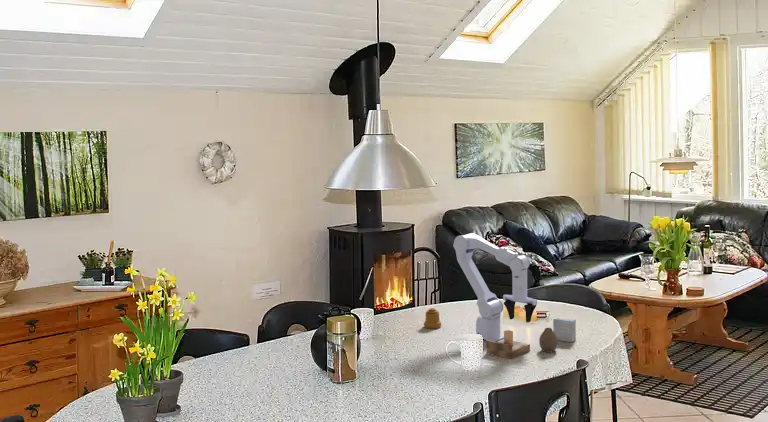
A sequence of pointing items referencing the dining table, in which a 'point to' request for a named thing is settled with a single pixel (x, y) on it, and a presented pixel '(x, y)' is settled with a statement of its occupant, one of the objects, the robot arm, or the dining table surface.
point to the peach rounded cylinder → (508, 337)
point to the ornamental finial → (432, 319)
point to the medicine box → (565, 329)
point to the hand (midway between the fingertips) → (520, 320)
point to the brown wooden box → (506, 349)
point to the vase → (548, 340)
